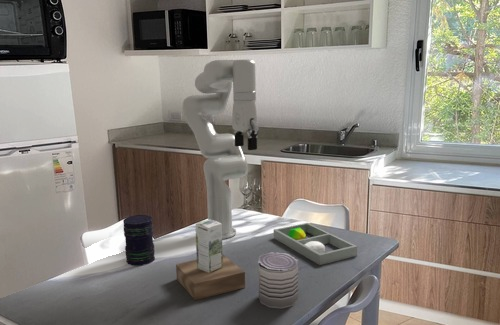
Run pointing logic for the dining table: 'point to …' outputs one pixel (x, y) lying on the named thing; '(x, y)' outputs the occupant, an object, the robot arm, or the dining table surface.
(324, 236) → the fruit tray
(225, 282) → the base block
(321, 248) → the garlic
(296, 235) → the apple
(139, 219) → the storage jar
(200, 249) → the syrup box
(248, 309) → the dining table surface
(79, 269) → the dining table surface
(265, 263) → the can
